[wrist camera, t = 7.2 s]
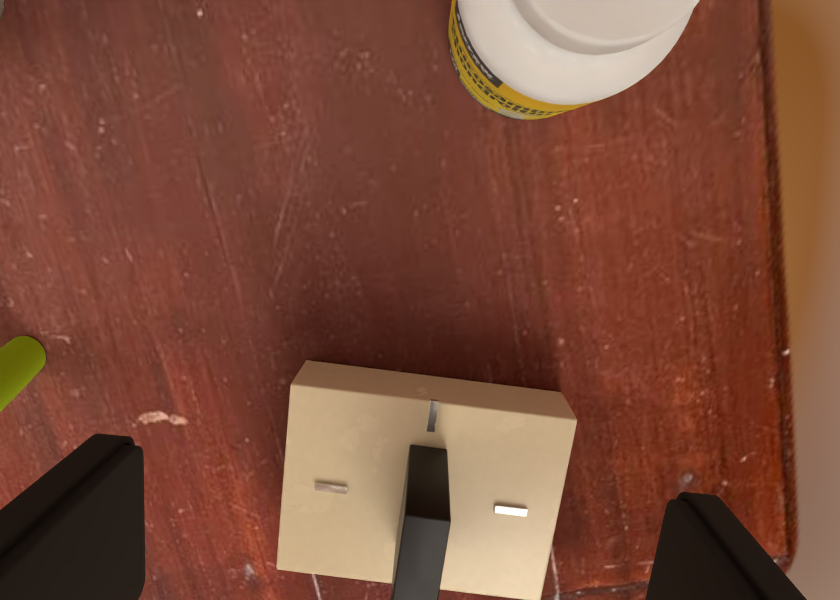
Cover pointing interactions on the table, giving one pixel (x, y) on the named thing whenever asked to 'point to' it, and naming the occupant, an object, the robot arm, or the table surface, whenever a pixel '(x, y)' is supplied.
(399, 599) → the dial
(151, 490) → the table surface
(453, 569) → the panel
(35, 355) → the mushroom
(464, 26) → the pill bottle
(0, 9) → the light bulb
